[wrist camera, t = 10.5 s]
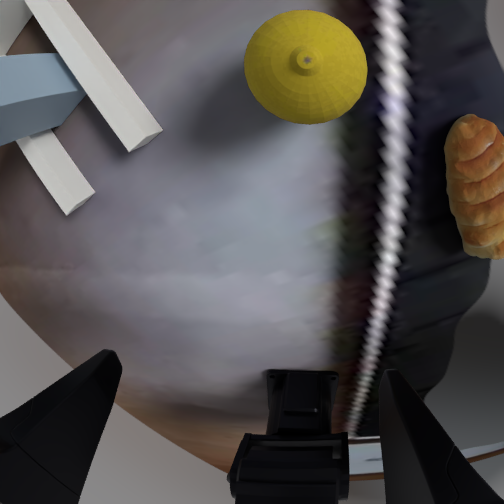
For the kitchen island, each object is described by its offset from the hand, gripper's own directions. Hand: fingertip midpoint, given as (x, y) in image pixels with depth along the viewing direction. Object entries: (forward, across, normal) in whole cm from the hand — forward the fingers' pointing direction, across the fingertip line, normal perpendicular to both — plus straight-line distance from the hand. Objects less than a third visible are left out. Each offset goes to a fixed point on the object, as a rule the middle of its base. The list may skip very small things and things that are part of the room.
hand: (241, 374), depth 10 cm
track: (+13, +15, -10) cm, 22 cm away
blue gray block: (+13, +15, -10) cm, 22 cm away
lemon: (+13, -2, -9) cm, 16 cm away
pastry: (+14, -14, -2) cm, 20 cm away
